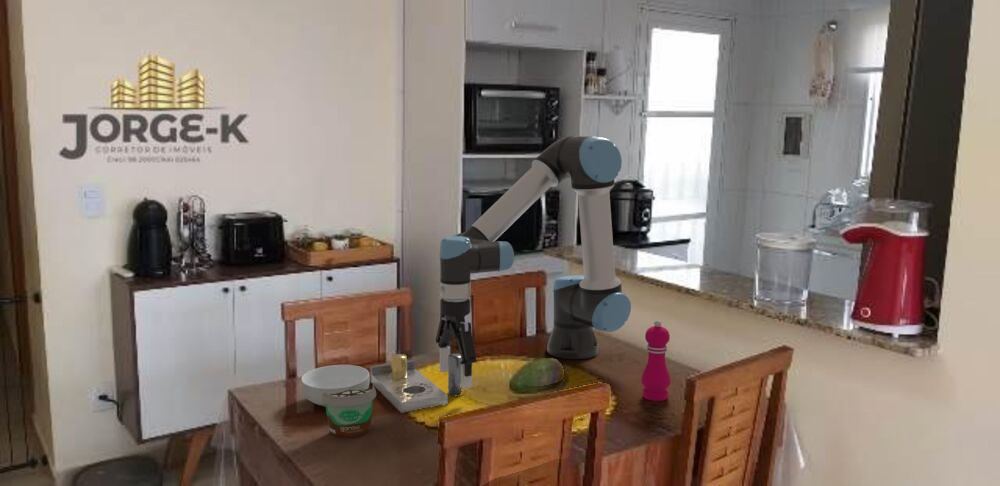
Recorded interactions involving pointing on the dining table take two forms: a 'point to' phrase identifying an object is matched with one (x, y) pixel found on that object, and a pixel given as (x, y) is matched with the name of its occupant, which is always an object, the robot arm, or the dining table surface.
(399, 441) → the dining table surface
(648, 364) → the pepper mill
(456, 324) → the robot arm
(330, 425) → the food container
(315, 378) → the cereal bowl
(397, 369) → the plate
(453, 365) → the steel bushing
